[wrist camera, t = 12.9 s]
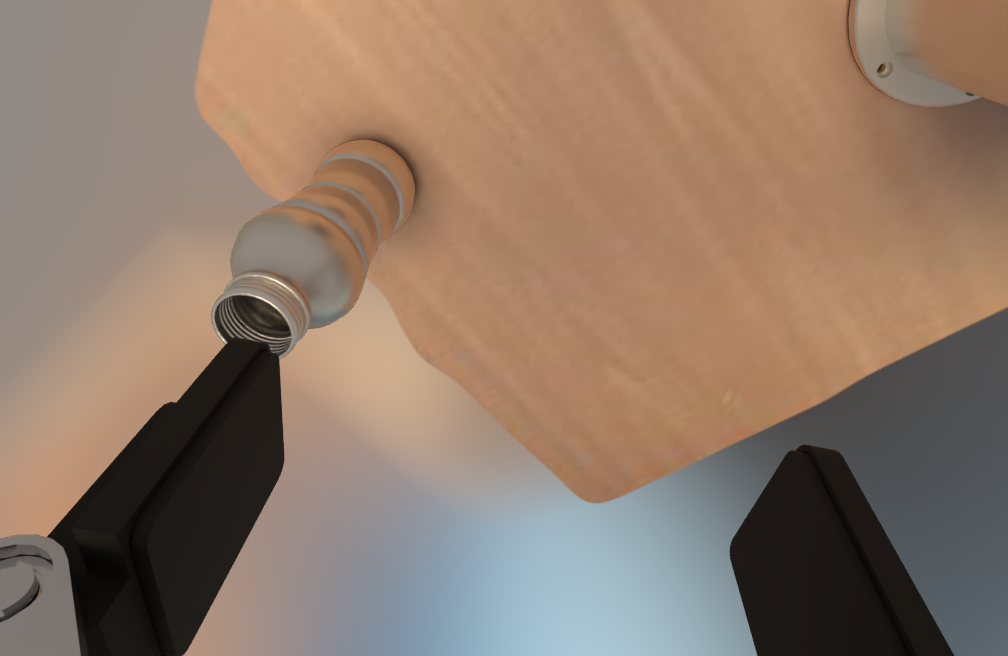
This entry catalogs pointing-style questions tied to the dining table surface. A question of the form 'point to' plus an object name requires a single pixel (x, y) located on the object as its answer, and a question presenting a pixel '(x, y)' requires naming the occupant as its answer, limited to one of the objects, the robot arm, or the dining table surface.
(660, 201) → the dining table surface
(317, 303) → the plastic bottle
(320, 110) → the dining table surface
